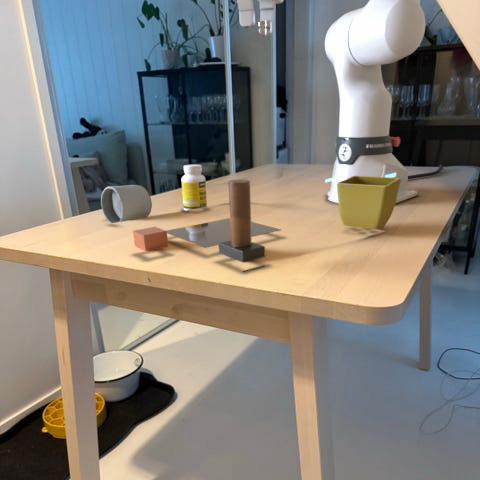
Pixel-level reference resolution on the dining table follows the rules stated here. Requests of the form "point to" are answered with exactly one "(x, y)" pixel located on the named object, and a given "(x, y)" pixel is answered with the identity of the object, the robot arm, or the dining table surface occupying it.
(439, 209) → the dining table surface
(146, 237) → the terracotta orange cube
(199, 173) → the supplement bottle
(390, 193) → the flower pot
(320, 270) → the dining table surface
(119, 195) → the ceramic mug
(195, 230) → the polished metal plate
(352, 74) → the robot arm
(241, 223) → the mallet with wooden handle
